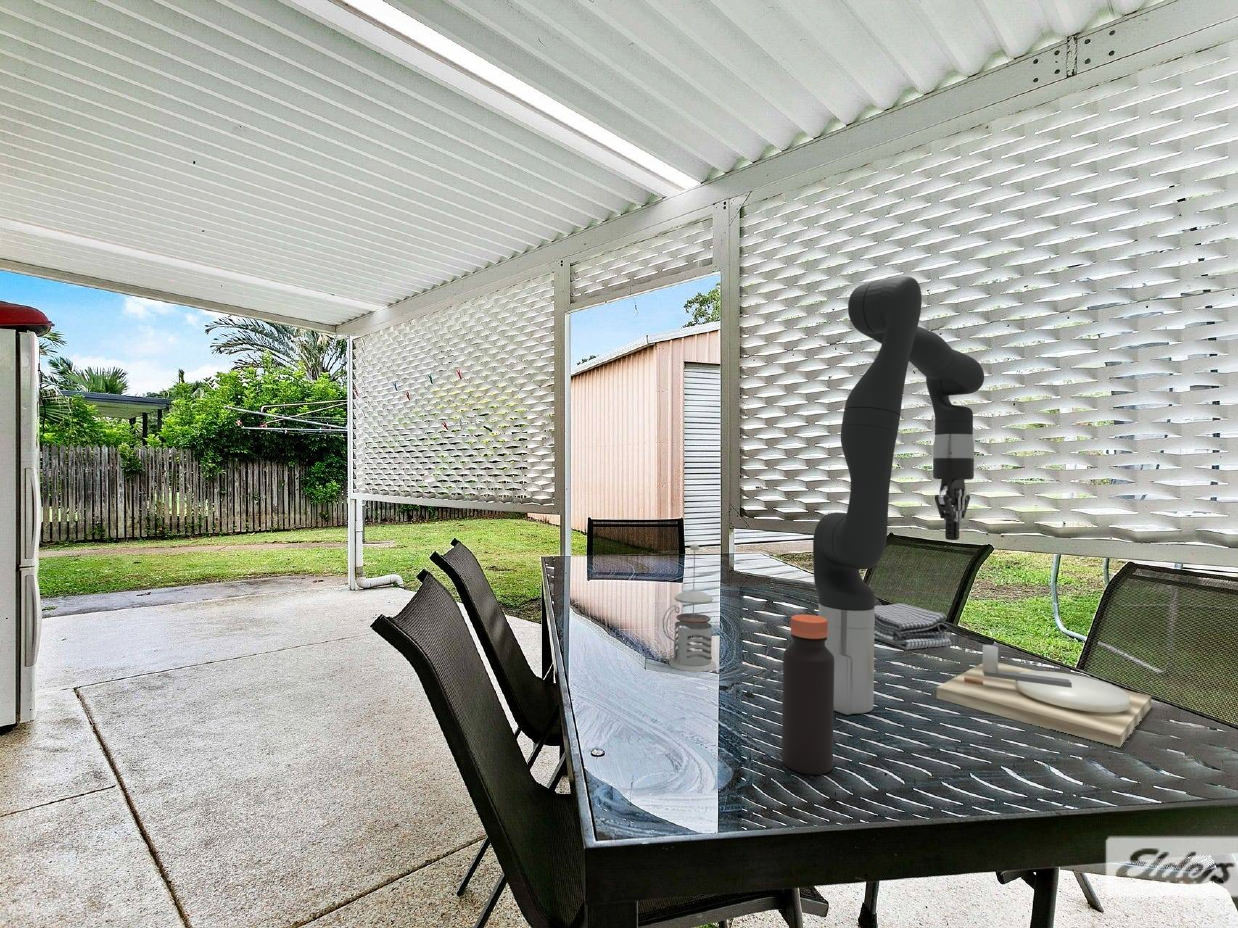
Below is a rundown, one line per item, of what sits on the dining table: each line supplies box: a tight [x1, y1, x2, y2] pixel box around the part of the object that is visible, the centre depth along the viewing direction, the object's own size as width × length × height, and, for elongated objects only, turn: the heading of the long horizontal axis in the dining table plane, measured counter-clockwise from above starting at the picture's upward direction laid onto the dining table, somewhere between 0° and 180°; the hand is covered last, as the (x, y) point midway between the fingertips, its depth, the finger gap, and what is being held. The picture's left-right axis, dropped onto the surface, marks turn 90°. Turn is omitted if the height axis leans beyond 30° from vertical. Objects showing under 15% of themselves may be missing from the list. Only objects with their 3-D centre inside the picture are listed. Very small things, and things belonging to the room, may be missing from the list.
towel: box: [874, 602, 952, 650], centre depth 152 cm, size 15×18×8 cm
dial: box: [981, 644, 1130, 713], centre depth 107 cm, size 16×21×7 cm
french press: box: [662, 543, 717, 673], centre depth 128 cm, size 10×12×25 cm
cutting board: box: [936, 662, 1152, 748], centre depth 110 cm, size 26×26×3 cm
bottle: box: [781, 614, 835, 776], centre depth 85 cm, size 7×7×20 cm
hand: (952, 539), depth 128 cm, fingers closed
